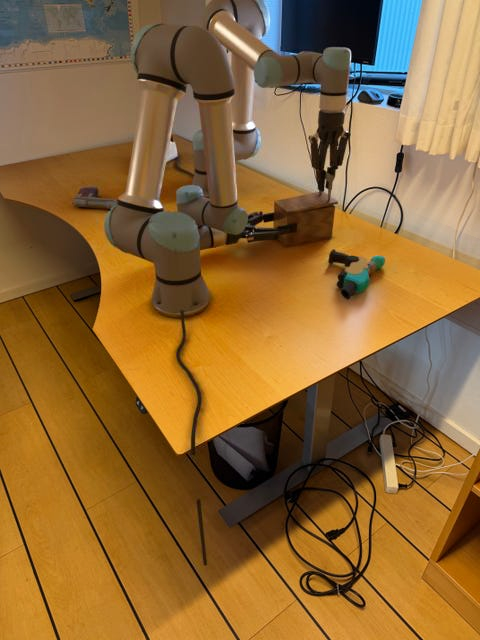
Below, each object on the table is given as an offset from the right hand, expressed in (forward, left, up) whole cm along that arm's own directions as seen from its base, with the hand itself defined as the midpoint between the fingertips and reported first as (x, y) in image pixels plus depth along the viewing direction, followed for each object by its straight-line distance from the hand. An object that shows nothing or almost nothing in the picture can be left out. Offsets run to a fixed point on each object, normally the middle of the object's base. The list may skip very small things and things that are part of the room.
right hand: (324, 189), depth 150 cm
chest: (-2, -7, -15) cm, 16 cm away
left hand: (-3, -12, -9) cm, 15 cm away
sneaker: (-97, -5, -15) cm, 98 cm away
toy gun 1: (-71, -46, -15) cm, 86 cm away
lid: (-2, -6, -4) cm, 7 cm away
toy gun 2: (+26, -16, -15) cm, 34 cm away
